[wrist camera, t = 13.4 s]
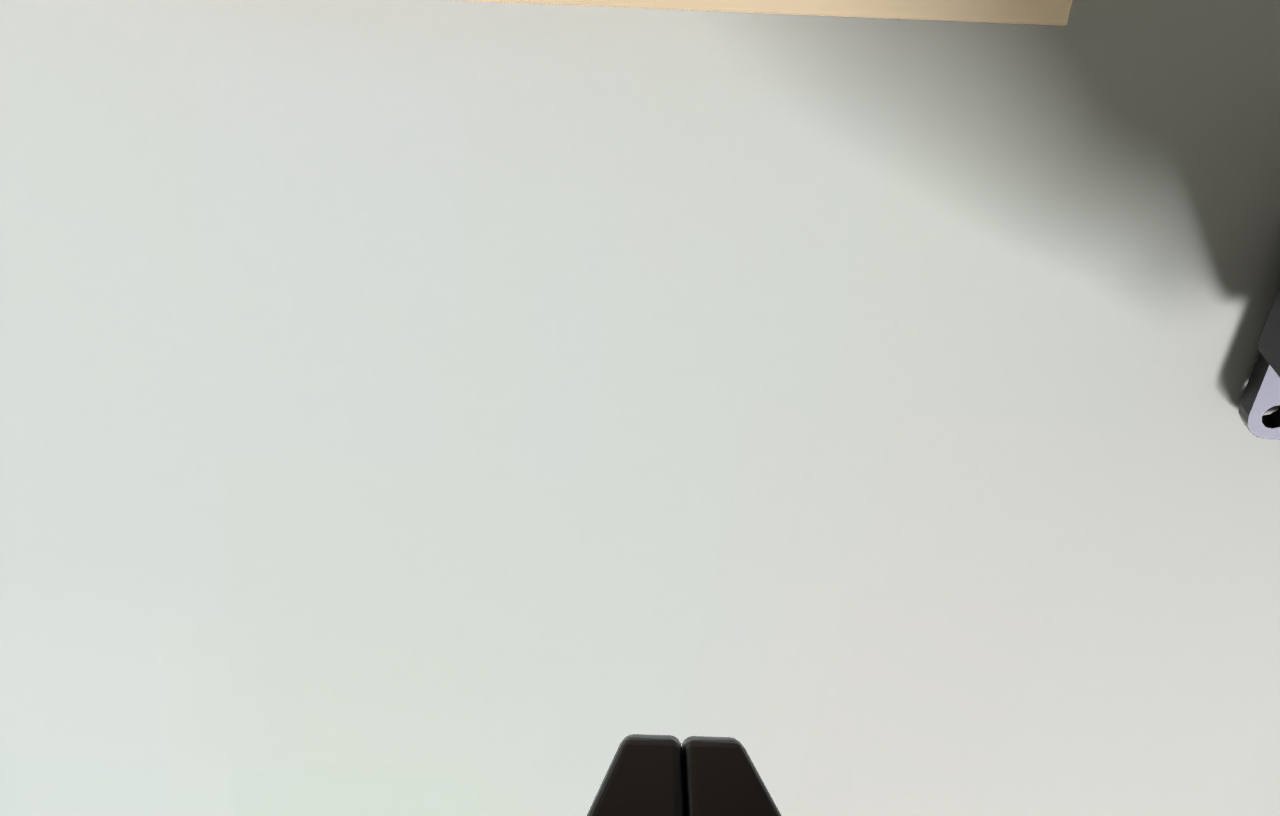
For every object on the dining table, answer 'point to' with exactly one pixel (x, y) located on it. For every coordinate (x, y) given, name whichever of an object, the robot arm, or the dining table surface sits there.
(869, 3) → the carton
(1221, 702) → the dining table surface
